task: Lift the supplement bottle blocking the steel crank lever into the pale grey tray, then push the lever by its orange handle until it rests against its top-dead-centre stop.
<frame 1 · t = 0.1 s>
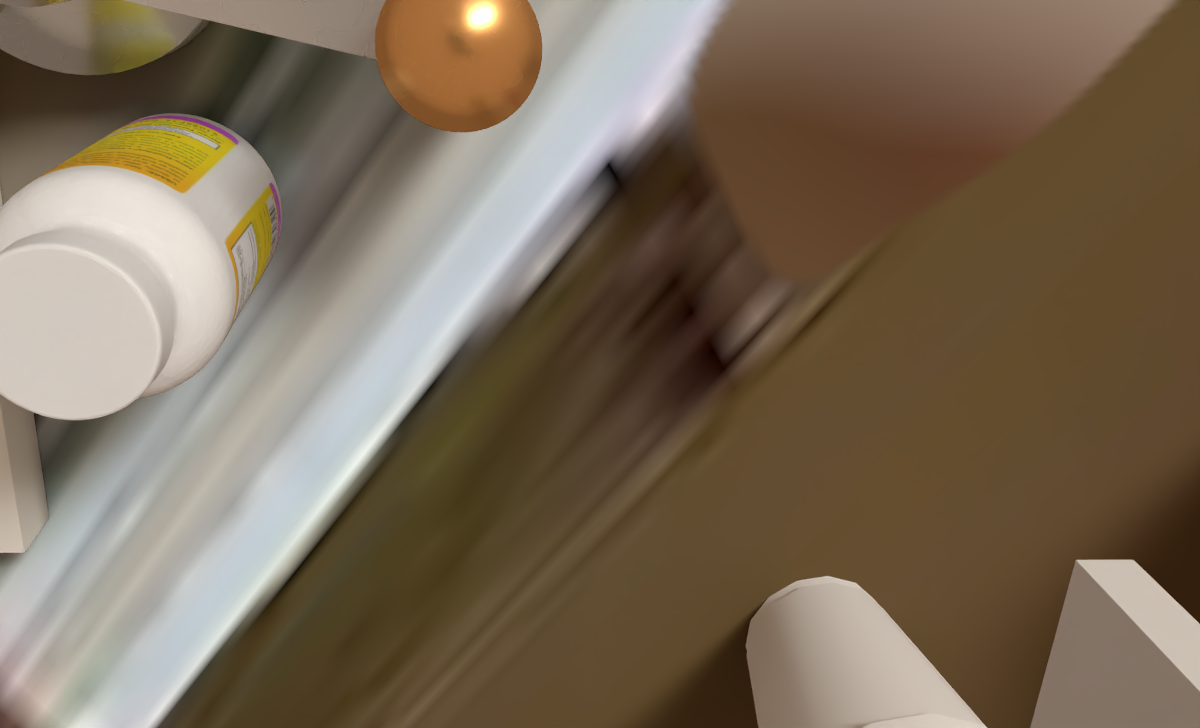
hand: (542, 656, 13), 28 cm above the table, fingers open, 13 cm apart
supplement bottle: (191, 203, 38), on the table
foam cup: (812, 632, 48), on the table
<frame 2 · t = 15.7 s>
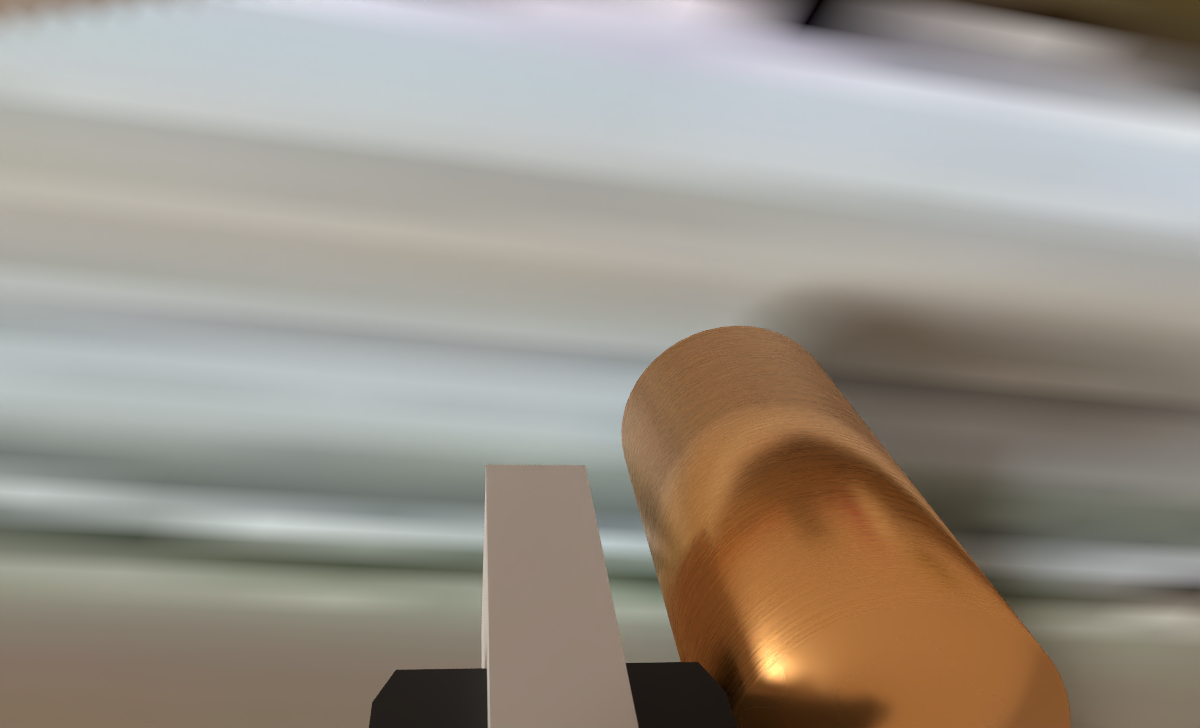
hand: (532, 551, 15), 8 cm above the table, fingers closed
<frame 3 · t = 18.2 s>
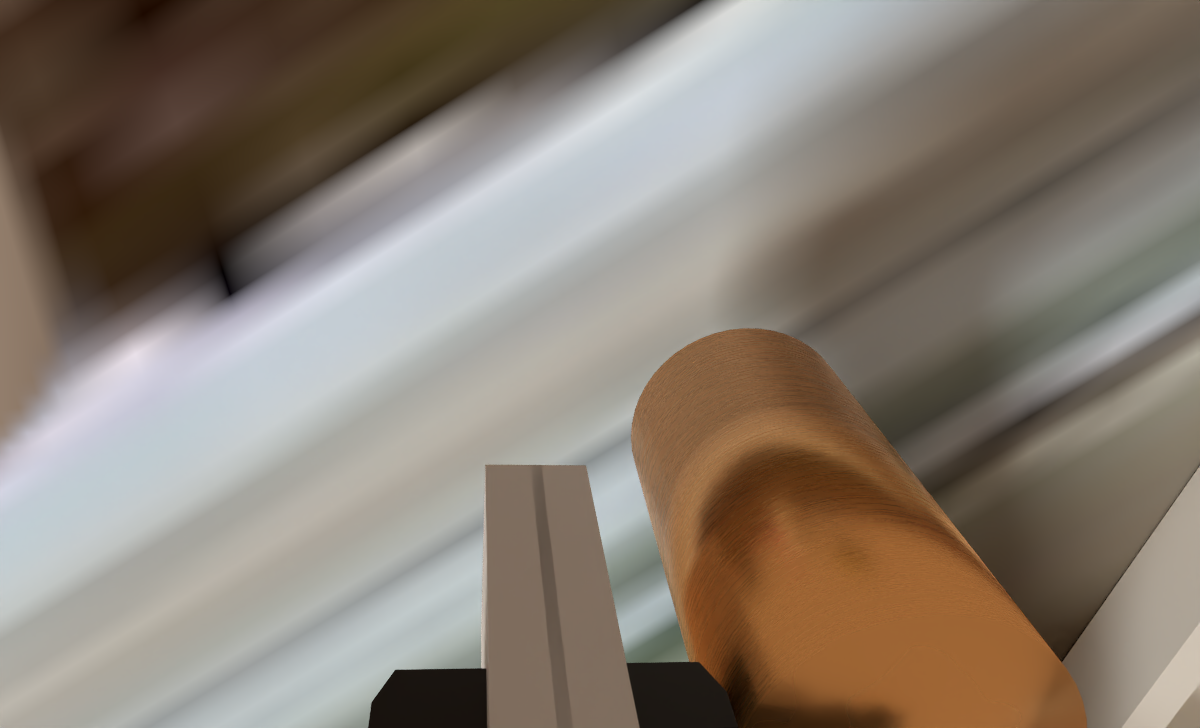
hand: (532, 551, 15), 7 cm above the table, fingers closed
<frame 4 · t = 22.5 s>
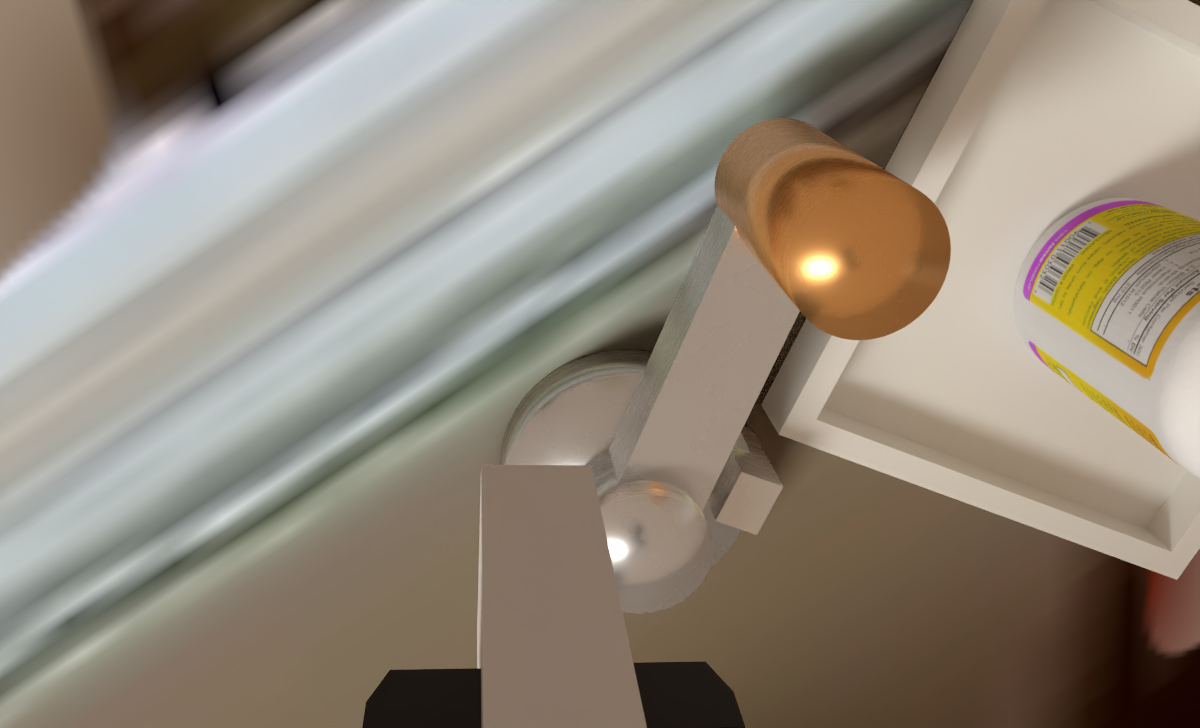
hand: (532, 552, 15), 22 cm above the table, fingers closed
tray: (1084, 275, 39), on the table
supplement bottle: (1091, 280, 38), point 1 cm above the table, touching tray
crank base: (620, 461, 40), on the table
crank lever: (726, 406, 31), point 7 cm above the table, hinge at 1.6°
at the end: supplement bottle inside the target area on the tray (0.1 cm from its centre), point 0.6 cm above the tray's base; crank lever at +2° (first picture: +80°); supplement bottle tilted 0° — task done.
